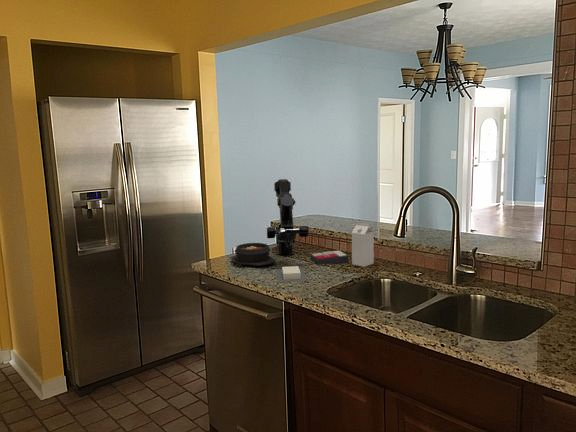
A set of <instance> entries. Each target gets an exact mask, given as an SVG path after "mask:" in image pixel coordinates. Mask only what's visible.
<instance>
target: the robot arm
mask: <svg viewBox="0 0 576 432" xmlns="http://www.w3.org/2000/svg"><path fill="white" fill-rule="evenodd" d="M291 183H292V182H291V181H289V180H288V179H286V178H284V179H282V178H281V179H280V178H279V179H278V180H277V181H276V182H274V184H273V185H274V187H273V189H274V192H275V197H276V198H277V199H276V201H277V202H276V203H277V204H276V205H277V206H278V208H279V218H280V219H279V220H280V222H279V224H278V227H277V229H276V226H268V227H267V228H266V238H267V239H275V238H276V244H278V253H276V255H277V256H283V257H288V256H291V255H295V252H293V244H294V243H295V242H296V240H295V239H296V238H297V234H299V235H298V236H299V237H300V238H308V237H309V231H310V229H309V225H299V228H295V227H294V217H293V216H294V215H293V209H294V206H295V205H296V200H295V199H294V198H293V195H292V193H290V192H291V191H292V187H291V185H292V184H291Z"/></svg>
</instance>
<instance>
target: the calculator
mask: <svg viewBox="0 0 576 432" xmlns="http://www.w3.org/2000/svg"><path fill="white" fill-rule="evenodd" d="M310 260H311V261H312V262H313V263H315V264H317V265H329V264H331V265H337V264H348V263H349V255H347V254H346V253H344V252H342V251H341V250H334V251H330V250H329V251H323V252H316V253H311V254H310Z"/></svg>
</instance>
